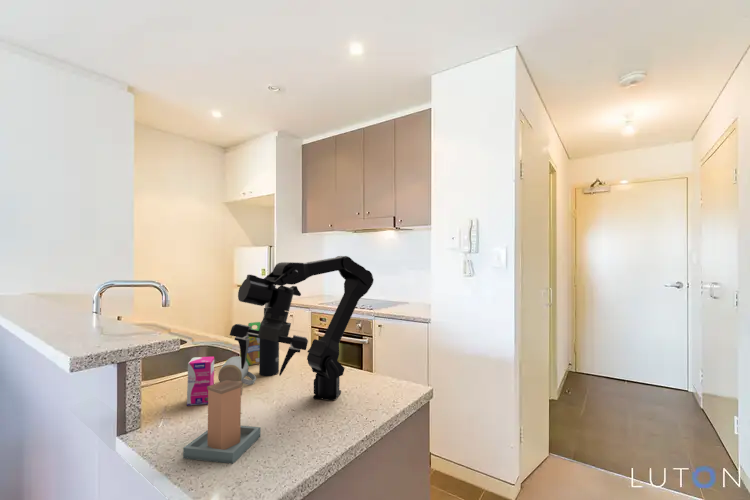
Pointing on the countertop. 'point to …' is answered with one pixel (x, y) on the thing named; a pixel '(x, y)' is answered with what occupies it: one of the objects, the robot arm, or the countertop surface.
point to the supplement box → (199, 379)
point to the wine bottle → (268, 355)
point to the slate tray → (230, 455)
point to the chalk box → (253, 347)
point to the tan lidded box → (224, 414)
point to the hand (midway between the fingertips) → (261, 371)
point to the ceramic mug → (235, 371)
